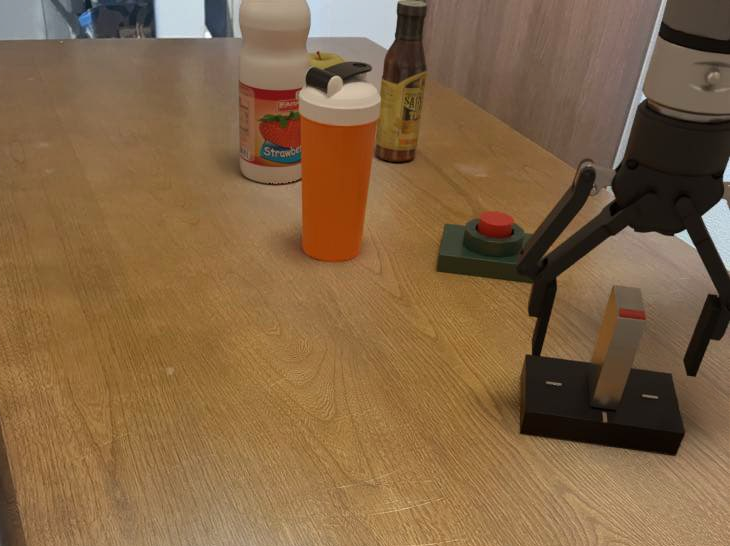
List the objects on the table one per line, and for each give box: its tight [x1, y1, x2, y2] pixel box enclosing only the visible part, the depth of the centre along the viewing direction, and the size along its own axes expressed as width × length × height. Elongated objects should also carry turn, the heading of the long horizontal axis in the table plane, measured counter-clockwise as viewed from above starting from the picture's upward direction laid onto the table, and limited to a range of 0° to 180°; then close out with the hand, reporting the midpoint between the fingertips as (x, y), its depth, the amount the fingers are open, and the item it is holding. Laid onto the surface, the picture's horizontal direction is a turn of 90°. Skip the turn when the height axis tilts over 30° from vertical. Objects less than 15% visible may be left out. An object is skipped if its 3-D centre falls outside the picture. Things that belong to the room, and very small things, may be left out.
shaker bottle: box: [298, 61, 381, 263], centre depth 99 cm, size 9×9×20 cm
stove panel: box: [519, 353, 686, 456], centre depth 81 cm, size 14×10×3 cm
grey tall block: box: [587, 284, 648, 410], centre depth 77 cm, size 6×2×9 cm, turn 170°
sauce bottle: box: [374, 0, 428, 162], centre depth 123 cm, size 7×6×20 cm
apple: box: [308, 50, 346, 70], centre depth 143 cm, size 10×10×8 cm
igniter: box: [436, 217, 544, 285], centre depth 104 cm, size 12×9×4 cm
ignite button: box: [477, 211, 515, 238], centre depth 102 cm, size 4×4×2 cm
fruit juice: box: [237, 0, 312, 185], centre depth 113 cm, size 9×9×28 cm
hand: (611, 358), depth 78 cm, fingers open, 13 cm apart
